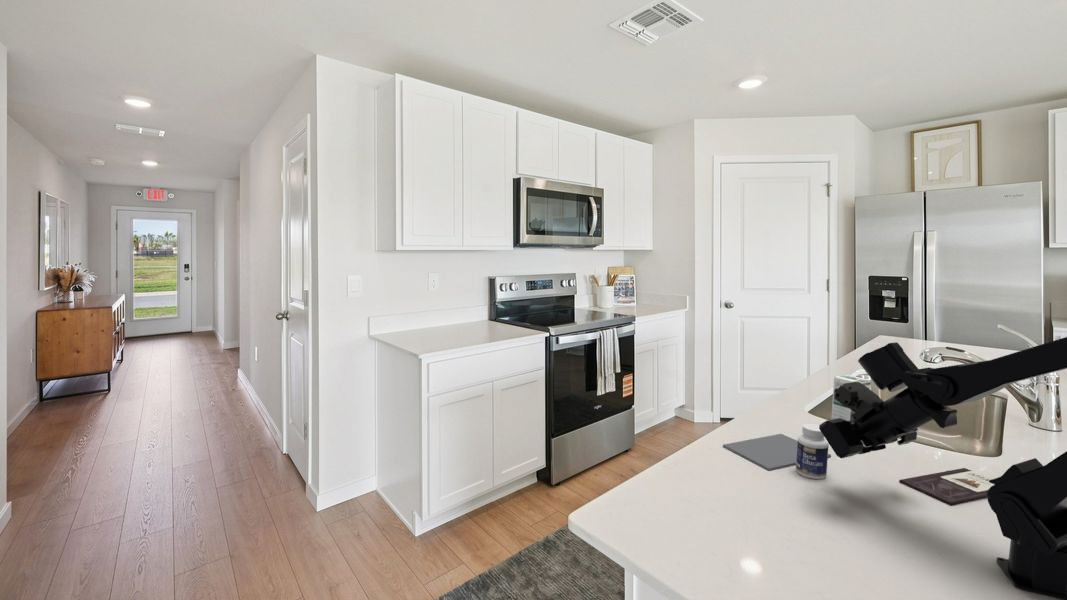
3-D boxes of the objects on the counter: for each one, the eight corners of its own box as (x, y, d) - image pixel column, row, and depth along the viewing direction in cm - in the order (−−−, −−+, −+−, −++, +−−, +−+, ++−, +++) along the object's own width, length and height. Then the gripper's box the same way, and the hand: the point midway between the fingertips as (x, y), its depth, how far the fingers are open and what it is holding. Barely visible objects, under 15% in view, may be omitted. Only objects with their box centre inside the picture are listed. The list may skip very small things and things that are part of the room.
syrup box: (829, 433, 117) (832, 376, 116) (844, 429, 120) (847, 373, 118) (852, 441, 112) (856, 381, 111) (868, 437, 115) (872, 378, 113)
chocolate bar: (899, 479, 92) (964, 467, 97) (899, 484, 93) (963, 472, 98) (951, 502, 84) (1019, 488, 89) (950, 508, 84) (1018, 493, 89)
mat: (830, 457, 104) (831, 454, 104) (769, 470, 97) (769, 468, 97) (780, 435, 116) (780, 433, 116) (722, 446, 109) (722, 444, 109)
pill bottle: (799, 477, 94) (802, 430, 93) (793, 466, 100) (795, 421, 99) (830, 481, 93) (833, 433, 92) (822, 469, 98) (825, 423, 97)
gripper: (904, 367, 88) (842, 406, 99) (833, 377, 81) (775, 418, 92) (950, 423, 81) (878, 458, 93) (877, 438, 75) (809, 474, 86)
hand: (835, 450), depth 91 cm, fingers closed
